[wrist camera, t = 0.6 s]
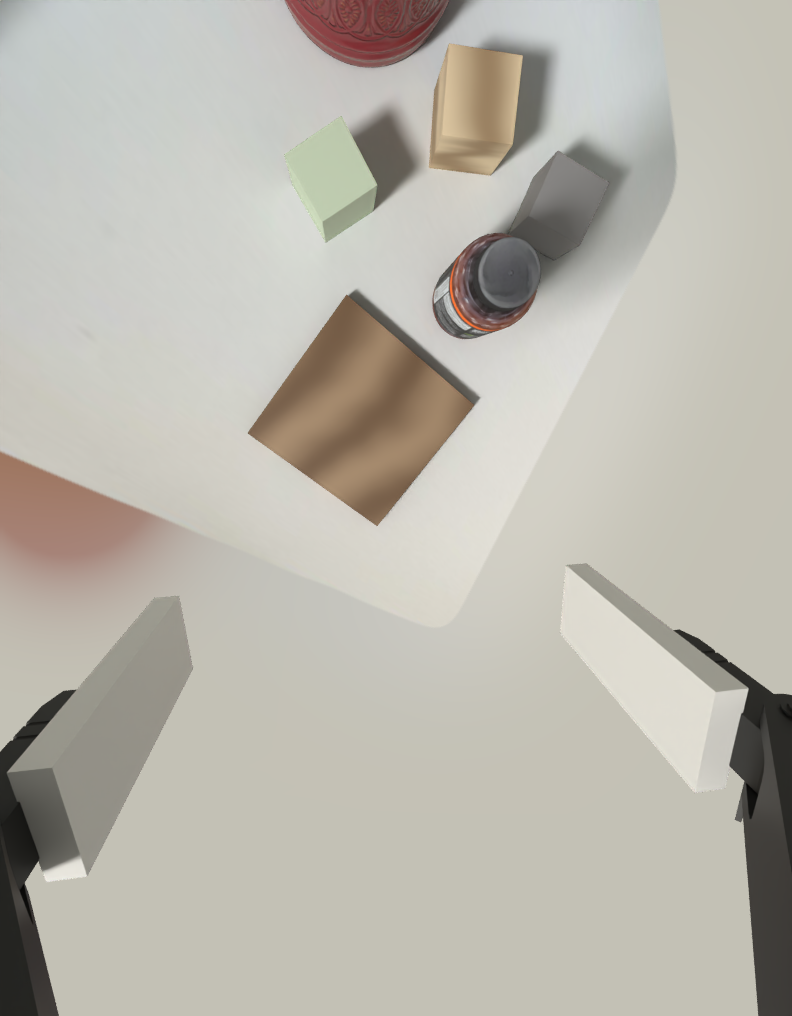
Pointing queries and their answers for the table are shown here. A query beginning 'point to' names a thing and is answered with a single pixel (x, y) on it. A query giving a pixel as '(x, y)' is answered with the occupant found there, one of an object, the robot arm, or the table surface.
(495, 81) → the beech block
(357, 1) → the canister
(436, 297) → the supplement bottle
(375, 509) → the plate
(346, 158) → the sage block
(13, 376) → the table surface
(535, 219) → the grey block
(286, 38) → the table surface
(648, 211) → the table surface
